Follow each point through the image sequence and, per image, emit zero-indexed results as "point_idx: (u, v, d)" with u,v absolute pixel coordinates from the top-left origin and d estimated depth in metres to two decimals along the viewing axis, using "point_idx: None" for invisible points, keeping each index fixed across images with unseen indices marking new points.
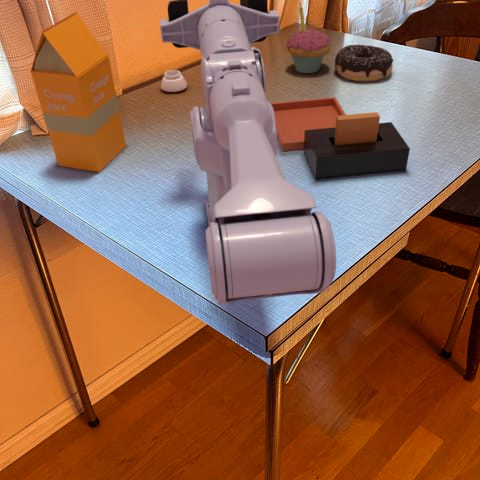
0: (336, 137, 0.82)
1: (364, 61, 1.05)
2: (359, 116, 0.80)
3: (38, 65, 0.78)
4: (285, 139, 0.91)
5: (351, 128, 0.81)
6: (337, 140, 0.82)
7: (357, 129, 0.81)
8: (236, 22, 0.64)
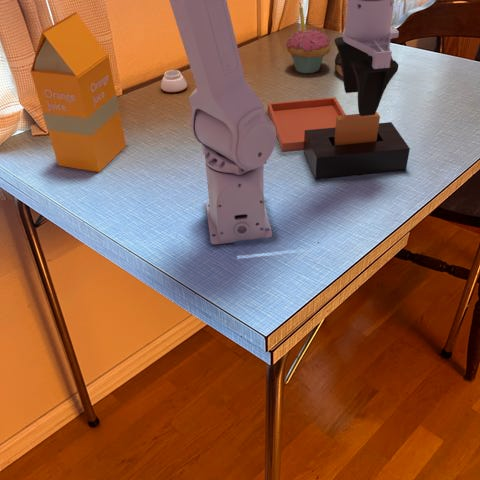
0: (336, 137, 0.82)
1: None
2: (359, 116, 0.80)
3: (38, 65, 0.78)
4: (285, 139, 0.91)
5: (351, 128, 0.81)
6: (337, 140, 0.82)
7: (357, 129, 0.81)
8: None
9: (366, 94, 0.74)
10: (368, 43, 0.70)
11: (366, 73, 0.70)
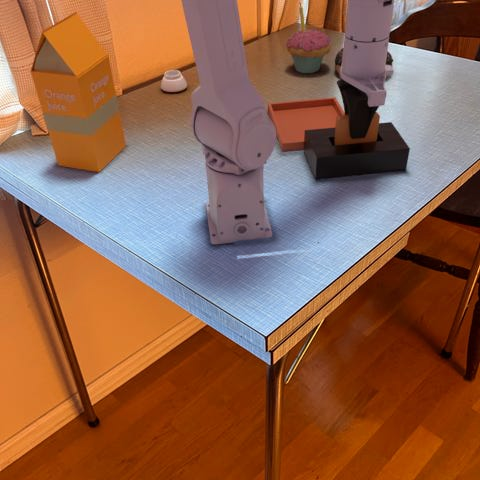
0: (336, 137, 0.82)
1: None
2: None
3: (38, 65, 0.78)
4: (285, 139, 0.91)
5: None
6: (337, 140, 0.82)
7: None
8: (388, 37, 0.72)
9: (357, 119, 0.79)
10: (364, 81, 0.74)
11: (356, 101, 0.75)
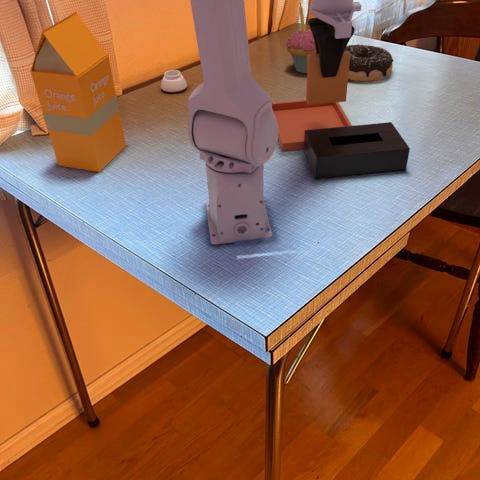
0: (308, 76, 0.84)
1: (364, 61, 1.05)
2: None
3: (38, 65, 0.78)
4: (285, 139, 0.91)
5: None
6: (309, 79, 0.84)
7: None
8: None
9: (327, 57, 0.81)
10: (332, 15, 0.76)
11: (325, 36, 0.77)
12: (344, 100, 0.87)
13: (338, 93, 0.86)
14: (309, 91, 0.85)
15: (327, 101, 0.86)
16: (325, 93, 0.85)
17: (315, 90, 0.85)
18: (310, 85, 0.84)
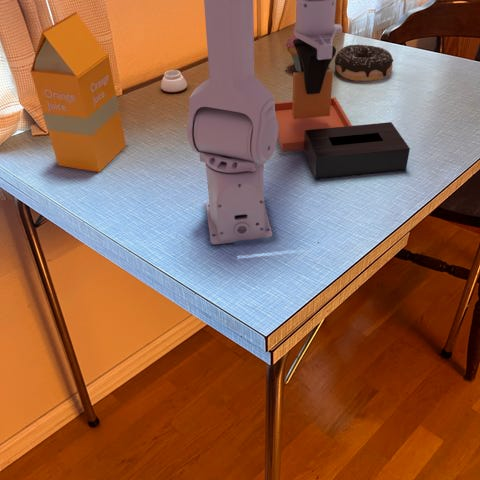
0: (293, 93, 0.89)
1: (364, 61, 1.05)
2: None
3: (38, 65, 0.78)
4: (285, 139, 0.91)
5: None
6: (294, 95, 0.89)
7: None
8: None
9: (311, 75, 0.87)
10: (314, 37, 0.81)
11: (308, 56, 0.83)
12: (328, 115, 0.92)
13: (322, 108, 0.91)
14: (295, 106, 0.91)
15: (312, 116, 0.92)
16: (310, 108, 0.91)
17: (300, 105, 0.91)
18: (296, 101, 0.90)
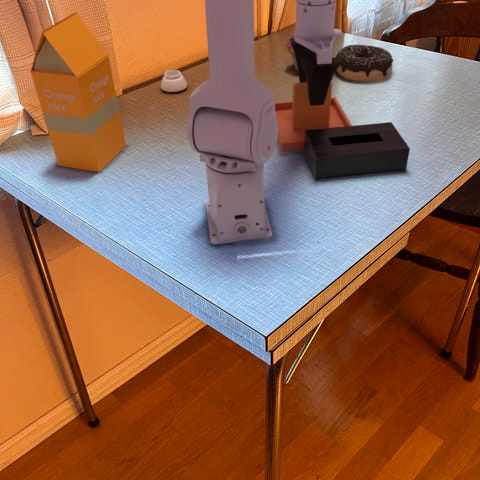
0: (293, 103, 0.91)
1: (364, 61, 1.05)
2: None
3: (38, 65, 0.78)
4: (285, 139, 0.91)
5: (306, 94, 0.89)
6: (294, 106, 0.91)
7: None
8: (335, 1, 0.80)
9: (314, 86, 0.85)
10: (314, 42, 0.82)
11: (312, 68, 0.81)
12: (327, 124, 0.93)
13: (321, 118, 0.92)
14: (294, 116, 0.92)
15: (311, 125, 0.93)
16: (309, 118, 0.92)
17: (300, 116, 0.92)
18: (296, 111, 0.91)
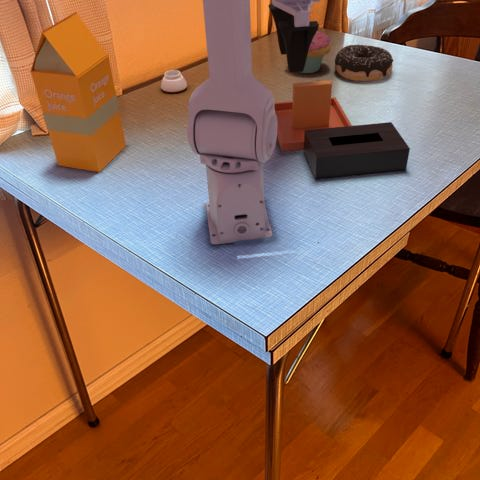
0: (293, 103, 0.91)
1: (364, 61, 1.05)
2: (313, 83, 0.89)
3: (38, 65, 0.78)
4: (285, 139, 0.91)
5: (306, 94, 0.89)
6: (294, 106, 0.91)
7: (312, 96, 0.90)
8: None
9: (293, 52, 0.83)
10: (292, 5, 0.80)
11: (290, 31, 0.79)
12: (327, 124, 0.93)
13: (321, 118, 0.92)
14: (294, 116, 0.92)
15: (311, 125, 0.93)
16: (309, 118, 0.92)
17: (300, 116, 0.92)
18: (296, 111, 0.91)
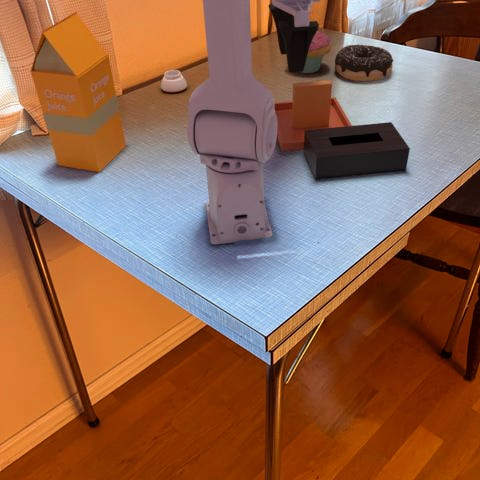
0: (293, 103, 0.91)
1: (364, 61, 1.05)
2: (313, 83, 0.89)
3: (38, 65, 0.78)
4: (285, 139, 0.91)
5: (306, 94, 0.89)
6: (294, 106, 0.91)
7: (312, 96, 0.90)
8: None
9: (293, 52, 0.83)
10: (292, 5, 0.80)
11: (290, 31, 0.79)
12: (327, 124, 0.93)
13: (321, 118, 0.92)
14: (294, 116, 0.92)
15: (311, 125, 0.93)
16: (309, 118, 0.92)
17: (300, 116, 0.92)
18: (296, 111, 0.91)
